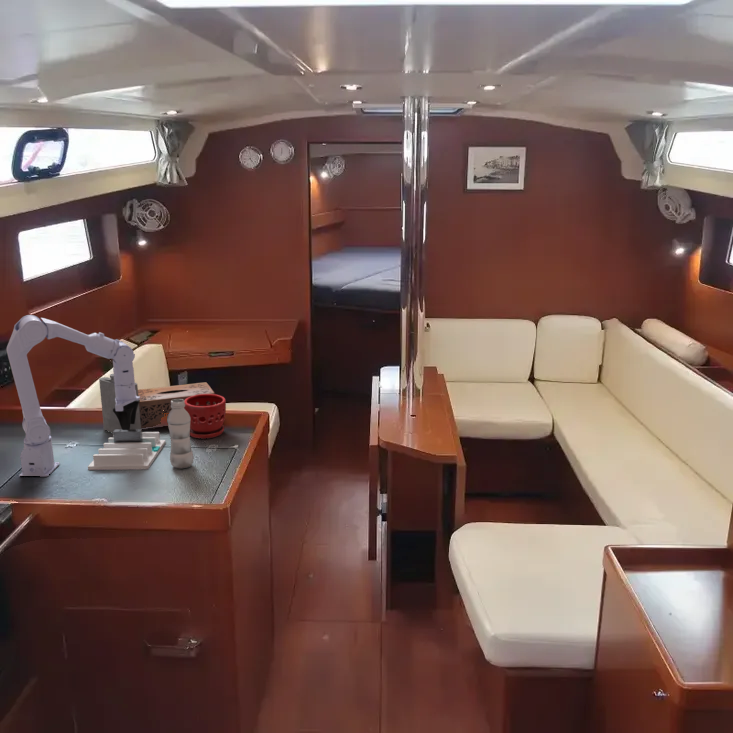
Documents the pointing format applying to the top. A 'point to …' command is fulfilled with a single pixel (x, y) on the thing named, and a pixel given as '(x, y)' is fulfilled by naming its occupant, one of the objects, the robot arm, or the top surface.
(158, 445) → the slot rack
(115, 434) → the rectangular block
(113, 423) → the hip flask
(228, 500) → the top surface
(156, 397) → the tissue box cover
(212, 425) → the plant pot
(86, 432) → the top surface
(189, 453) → the plastic bottle
